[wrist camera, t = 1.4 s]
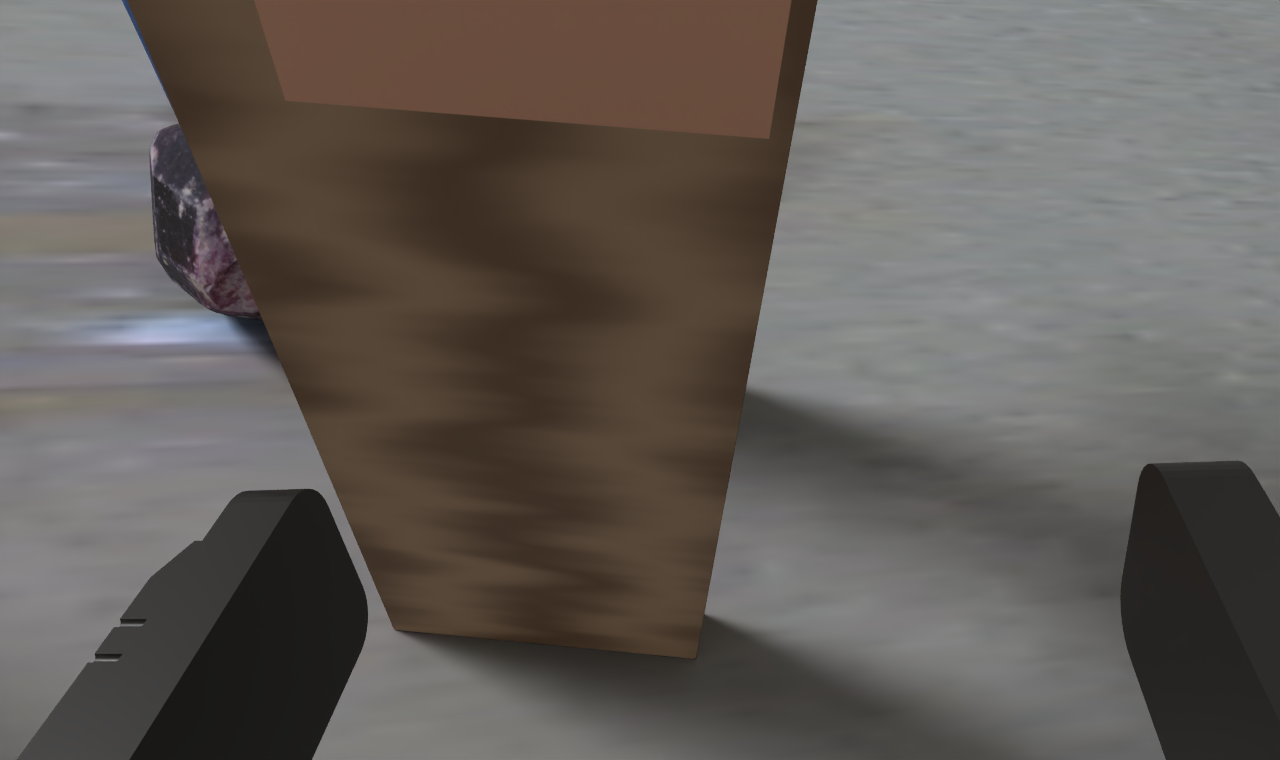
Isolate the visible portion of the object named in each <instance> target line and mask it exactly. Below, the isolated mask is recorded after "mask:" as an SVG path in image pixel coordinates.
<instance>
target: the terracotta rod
mask: <svg viewBox="0 0 1280 760" xmlns="http://www.w3.org/2000/svg"><path fill="white" fill-rule="evenodd" d="M254 2H255V5H256V8H257V12H258V15H259V18H260V21H261V24H262V28H263V31H264V34H265V37H266V40H267V43H268V47H269V50H270V53H271V56H272V59H273V63H274V66H275V69H276V72H277V75H278V79H279V82H280V85H281V88H282V91H283V95H284V98H285V101H294V102H307V103H319V104H332V105H345V106H358V107H370V108H383V109H396V110H408V111H421V112H434V113H446V114H459V115H472V116H484V117H497V118H510V119H523V120H535V121H548V122H561V123H573V124H586V125H599V126H611V127H624V128H637V129H649V130H662V131H675V132H688V133H700V134H713V135H726V136H738V137H751V138H764V139H769V136H770V130H771V124H772V118H773V112H774V105H775V99H776V93H777V87H778V81H779V74H780V68H781V62H782V56H783V50H784V43H785V37H786V31H787V25H788V19H789V13H790V6H791V0H254Z"/></svg>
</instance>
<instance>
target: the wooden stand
mask: <svg viewBox="0 0 1280 760" xmlns="http://www.w3.org/2000/svg"><path fill="white" fill-rule="evenodd" d="M127 2H128V4H129V6H130V9H131V11H132V13H133V16H134V18H135V20H136V23H137V25H138V28H139V30H140V32H141V35H142V37H143V39H144V42H145V44H146V46H147V49H148V51H149V53H150V56H151V58H152V60H153V63H154V65H155V68H156V70H157V72H158V75H159V77H160V79H161V82H162V84H163V86H164V89H165V91H166V93H167V96H168V98H169V101H170V103H171V105H172V108H173V110H174V112H175V115H176V117H177V119H178V122H179V124H180V126H181V129H182V131H183V133H184V136H185V138H186V141H187V143H188V145H189V148H190V150H191V152H192V155H193V157H194V159H195V162H196V164H197V166H198V169H199V171H200V174H201V176H202V178H203V181H204V183H205V185H206V188H207V190H208V192H209V195H210V197H211V199H212V202H213V204H214V206H215V209H216V211H217V214H218V216H219V218H220V221H221V223H222V225H223V228H224V230H225V232H226V235H227V237H228V239H229V242H230V244H231V246H232V249H233V251H234V254H235V256H236V258H237V261H238V263H239V265H240V268H241V270H242V272H243V275H244V277H245V279H246V282H247V284H248V287H249V289H250V291H251V294H252V296H253V298H254V301H255V303H256V305H257V308H258V310H259V312H260V315H261V317H262V319H263V322H264V324H265V327H266V329H267V331H268V334H269V336H270V338H271V341H272V343H273V345H274V348H275V350H276V352H277V355H278V357H279V360H280V362H281V364H282V367H283V369H284V371H285V374H286V376H287V378H288V381H289V383H290V385H291V388H292V390H293V392H294V395H295V397H296V400H297V402H298V404H299V407H300V409H301V411H302V414H303V416H304V418H305V421H306V423H307V425H308V428H309V430H310V432H311V435H312V437H313V440H314V442H315V444H316V447H317V449H318V451H319V454H320V456H321V458H322V461H323V463H324V465H325V468H326V470H327V473H328V475H329V477H330V480H331V482H332V484H333V487H334V489H335V491H336V494H337V496H338V498H339V501H340V503H341V505H342V508H343V510H344V513H345V515H346V517H347V520H348V522H349V524H350V527H351V529H352V531H353V534H354V536H355V538H356V541H357V543H358V545H359V548H360V550H361V553H362V555H363V557H364V560H365V562H366V564H367V567H368V569H369V571H370V574H371V576H372V578H373V581H374V583H375V586H376V588H377V590H378V593H379V595H380V597H381V600H382V602H383V604H384V607H385V609H386V611H387V614H388V616H389V618H390V621H391V623H392V626H393V628H394V630H403V631H414V632H424V633H434V634H444V635H455V636H465V637H475V638H485V639H496V640H506V641H516V642H526V643H537V644H547V645H557V646H567V647H578V648H588V649H598V650H608V651H619V652H629V653H639V654H649V655H660V656H670V657H680V658H690V659H696V656H697V650H698V645H699V639H700V634H701V629H702V623H703V618H704V612H705V607H706V601H707V596H708V591H709V585H710V580H711V574H712V569H713V563H714V558H715V553H716V547H717V542H718V536H719V531H720V526H721V520H722V515H723V509H724V504H725V498H726V493H727V488H728V482H729V477H730V471H731V466H732V461H733V455H734V450H735V444H736V439H737V433H738V428H739V423H740V417H741V412H742V406H743V401H744V396H745V390H746V385H747V379H748V374H749V368H750V363H751V358H752V352H753V347H754V341H755V336H756V330H757V325H758V320H759V314H760V309H761V303H762V298H763V293H764V287H765V282H766V276H767V271H768V265H769V260H770V255H771V249H772V244H773V238H774V233H775V228H776V222H777V217H778V211H779V206H780V200H781V195H782V190H783V184H784V179H785V173H786V168H787V163H788V157H789V152H790V146H791V141H792V135H793V130H794V125H795V119H796V114H797V108H798V103H799V97H800V92H801V87H802V81H803V76H804V70H805V65H806V60H807V54H808V49H809V43H810V38H811V32H812V27H813V22H814V16H815V11H816V5H817V0H791V6H790V13H789V19H788V25H787V31H786V37H785V43H784V50H783V56H782V62H781V68H780V74H779V81H778V87H777V93H776V99H775V105H774V112H773V118H772V124H771V130H770V136H769V139H764V138H751V137H738V136H726V135H713V134H700V133H688V132H675V131H662V130H649V129H637V128H624V127H611V126H599V125H586V124H573V123H561V122H548V121H535V120H523V119H510V118H497V117H484V116H472V115H459V114H446V113H434V112H421V111H408V110H396V109H383V108H370V107H358V106H345V105H332V104H319V103H307V102H294V101H285V98H284V95H283V91H282V88H281V85H280V82H279V79H278V75H277V72H276V69H275V66H274V63H273V59H272V56H271V53H270V50H269V47H268V43H267V40H266V37H265V34H264V31H263V28H262V24H261V21H260V18H259V15H258V12H257V8H256V5H255V2H254V0H127Z"/></svg>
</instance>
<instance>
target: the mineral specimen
mask: <svg viewBox="0 0 1280 760" xmlns="http://www.w3.org/2000/svg"><path fill="white" fill-rule="evenodd" d="M150 176H151V192H152V211H153V226H154V242H155V249H156V256H157V259H158V261H159V262H160V264H161V265H162V266H163V268H164V269H165V271H166V272H167V274H168V275H169V277H170V278H171V279H172V280H173V281H174V282H175V283H176V284H177V285H178V286H180V287H181V288H182V289H184V290H185V291H186V292H187V293H188V294H190V295H191V296H192V297H193V298H194V299H196V300H197V301H198V302H199V303H200V304H202V305H203V306H205V307H206V308H208V309H209V310H211V311H214V312H216V313H221V314H224V315H228V316H235V317H245V318H252V319H258V320H263V319H262V317H261V315H260V312H259V310H258V308H257V305H256V303H255V301H254V298H253V296H252V294H251V291H250V289H249V287H248V284H247V282H246V279H245V277H244V275H243V272H242V270H241V268H240V265H239V263H238V261H237V258H236V256H235V254H234V251H233V249H232V246H231V244H230V242H229V239H228V237H227V235H226V232H225V230H224V228H223V225H222V223H221V221H220V218H219V216H218V214H217V211H216V209H215V206H214V204H213V202H212V199H211V197H210V195H209V192H208V190H207V188H206V185H205V183H204V181H203V178H202V176H201V174H200V171H199V169H198V166H197V164H196V162H195V159H194V157H193V155H192V152H191V150H190V148H189V145H188V143H187V141H186V138H185V136H184V133H183V131H182V129H181V126H180V124H175V125H172V126H169V127H167V128H164V129H162V130H159V131H157V133H156V136H155V138H154V139H153V141H152V143H151V145H150Z"/></svg>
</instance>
